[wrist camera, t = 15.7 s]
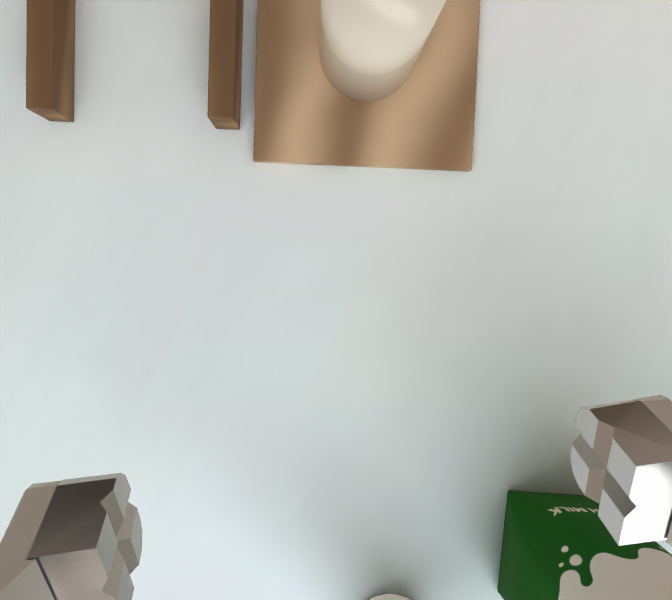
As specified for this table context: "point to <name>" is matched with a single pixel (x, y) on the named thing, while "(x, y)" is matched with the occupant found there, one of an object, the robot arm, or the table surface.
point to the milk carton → (574, 554)
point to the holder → (59, 48)
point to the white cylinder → (373, 43)
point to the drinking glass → (389, 597)
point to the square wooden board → (358, 116)
